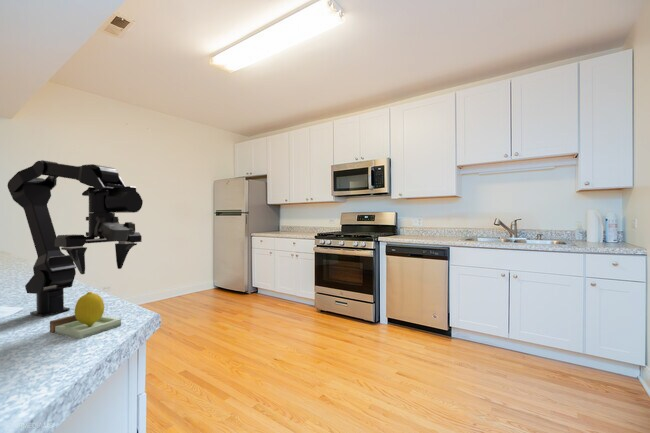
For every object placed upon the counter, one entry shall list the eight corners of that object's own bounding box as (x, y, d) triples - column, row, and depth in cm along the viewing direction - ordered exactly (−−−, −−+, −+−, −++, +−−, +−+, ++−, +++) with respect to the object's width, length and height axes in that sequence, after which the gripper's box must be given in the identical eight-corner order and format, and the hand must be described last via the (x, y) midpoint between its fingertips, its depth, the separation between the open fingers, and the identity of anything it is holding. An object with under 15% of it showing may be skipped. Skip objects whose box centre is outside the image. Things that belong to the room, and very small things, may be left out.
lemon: (88, 331, 70) (88, 295, 70) (68, 329, 71) (68, 294, 71) (110, 322, 75) (109, 289, 75) (91, 321, 76) (90, 289, 76)
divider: (49, 332, 71) (49, 321, 71) (96, 318, 81) (96, 309, 81) (52, 332, 71) (52, 321, 71) (99, 319, 80) (99, 309, 80)
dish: (55, 333, 71) (55, 326, 71) (97, 321, 79) (97, 315, 79) (79, 338, 67) (79, 331, 67) (121, 325, 75) (121, 319, 75)
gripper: (79, 212, 72) (79, 280, 72) (154, 213, 89) (154, 268, 88) (53, 212, 76) (53, 276, 76) (129, 213, 93) (129, 265, 93)
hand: (102, 271), depth 83 cm, fingers open, 9 cm apart
